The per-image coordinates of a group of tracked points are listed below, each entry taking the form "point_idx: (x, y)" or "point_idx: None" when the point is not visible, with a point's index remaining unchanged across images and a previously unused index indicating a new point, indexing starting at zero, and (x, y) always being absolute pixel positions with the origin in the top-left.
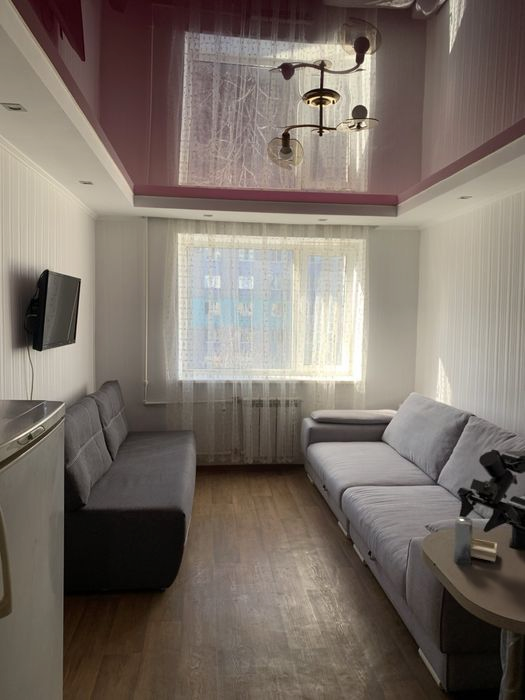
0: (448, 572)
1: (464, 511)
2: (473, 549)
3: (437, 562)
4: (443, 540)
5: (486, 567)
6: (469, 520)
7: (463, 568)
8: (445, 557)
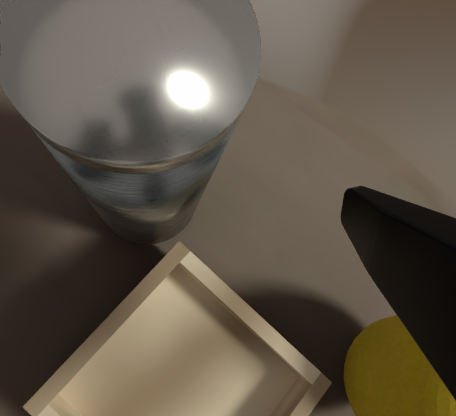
0: None
1: (448, 278)
2: (147, 275)
3: None
4: None
5: (34, 298)
6: (77, 96)
7: None
8: None
